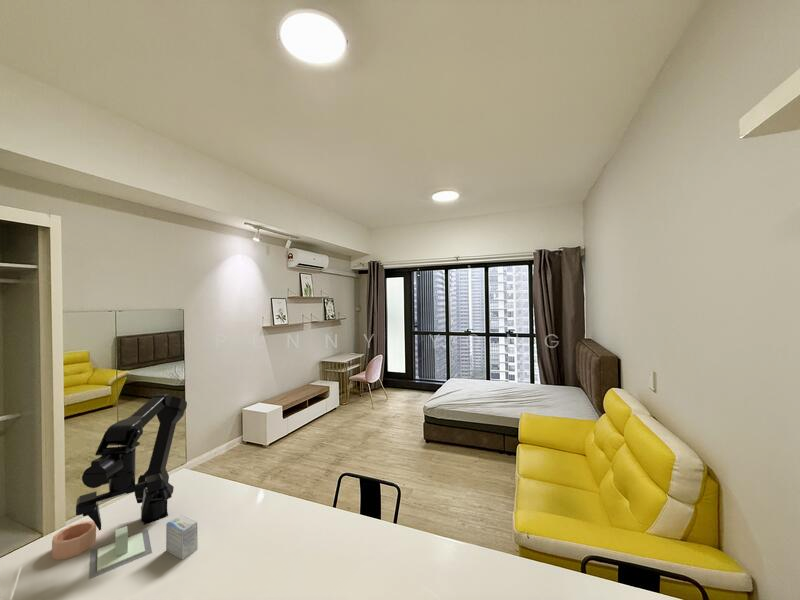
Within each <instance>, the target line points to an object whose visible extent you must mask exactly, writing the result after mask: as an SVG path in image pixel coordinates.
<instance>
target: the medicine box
mask: <svg viewBox="0 0 800 600" xmlns="http://www.w3.org/2000/svg"><path fill="white" fill-rule="evenodd" d="M165 527H166V528H165V529H166V530H165V531H166V532H165V534H166V535H165V537H166V542H165V543H166V545H165V550H166V552H167V553H169V554H171V555H174V556H175V557H177V558H179V559H180V560H185V559H186V558H188V557H189V556H191V555H192V554H194V553H195V552H196V551H197V550H198V545H199V544H198V543H199V542H198V539H199V538H198V536H199V535H198V531H199V529H198V528H199V527H198V521H196V520H195V519H192V518H190V517H188V516H186V515H183V514H180V515H178V516H176V517H174V518H173V519H171V520H169V521H168V522H167V523H166V525H165Z"/></svg>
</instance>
